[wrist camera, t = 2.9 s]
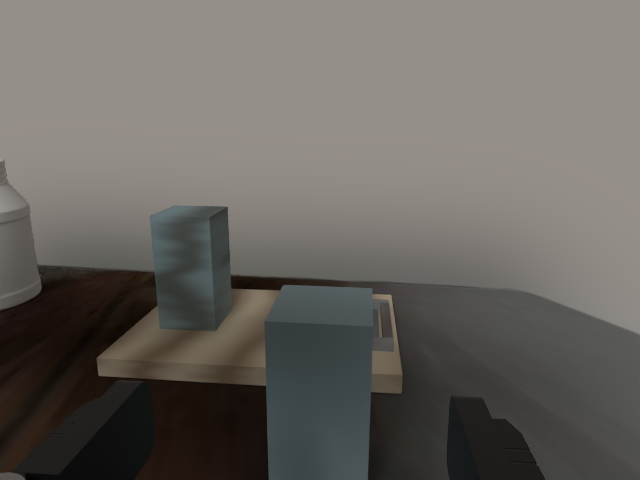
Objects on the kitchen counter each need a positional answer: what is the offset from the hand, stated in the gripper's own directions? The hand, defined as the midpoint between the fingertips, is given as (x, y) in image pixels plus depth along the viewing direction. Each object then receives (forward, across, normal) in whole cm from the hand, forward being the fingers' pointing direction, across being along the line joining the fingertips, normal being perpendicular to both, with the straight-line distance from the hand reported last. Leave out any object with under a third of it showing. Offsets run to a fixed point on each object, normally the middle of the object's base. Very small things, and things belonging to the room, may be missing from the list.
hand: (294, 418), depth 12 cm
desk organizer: (+28, +7, +11) cm, 30 cm away
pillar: (+12, 0, +11) cm, 16 cm away
